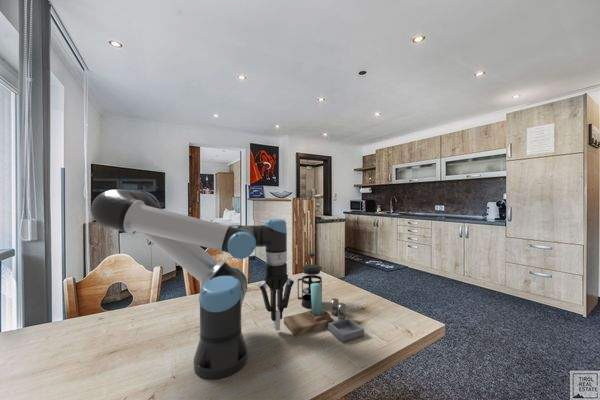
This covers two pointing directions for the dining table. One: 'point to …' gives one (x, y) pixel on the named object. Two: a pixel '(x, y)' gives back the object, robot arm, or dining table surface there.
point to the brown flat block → (307, 322)
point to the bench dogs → (338, 309)
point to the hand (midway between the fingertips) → (276, 328)
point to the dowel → (316, 299)
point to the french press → (309, 282)
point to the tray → (345, 330)
